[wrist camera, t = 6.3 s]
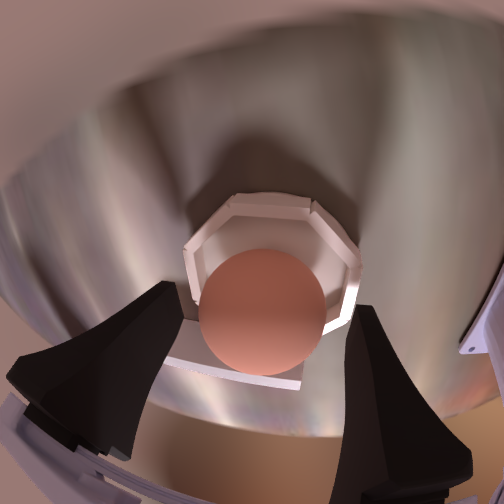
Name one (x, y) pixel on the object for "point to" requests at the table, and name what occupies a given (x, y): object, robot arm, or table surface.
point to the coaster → (280, 245)
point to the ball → (262, 312)
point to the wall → (206, 362)
